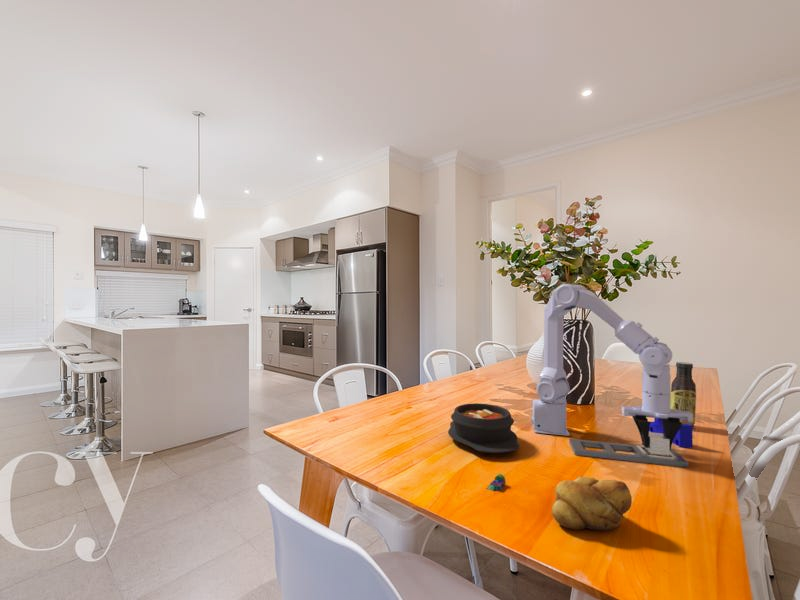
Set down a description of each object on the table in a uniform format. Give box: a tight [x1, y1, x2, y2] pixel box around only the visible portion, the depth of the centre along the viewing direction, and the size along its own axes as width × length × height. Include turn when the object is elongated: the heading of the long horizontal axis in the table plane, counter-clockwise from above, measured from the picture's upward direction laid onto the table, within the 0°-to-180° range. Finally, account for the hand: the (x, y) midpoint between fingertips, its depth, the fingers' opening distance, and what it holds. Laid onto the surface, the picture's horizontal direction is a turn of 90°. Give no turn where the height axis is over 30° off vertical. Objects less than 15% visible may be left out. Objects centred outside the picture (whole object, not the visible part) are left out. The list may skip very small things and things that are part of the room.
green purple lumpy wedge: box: [485, 473, 507, 492], centre depth 74 cm, size 4×3×2 cm
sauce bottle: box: [671, 361, 697, 430], centre depth 110 cm, size 6×6×20 cm
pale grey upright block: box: [644, 431, 670, 457], centre depth 88 cm, size 4×4×5 cm
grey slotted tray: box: [568, 438, 689, 469], centre depth 90 cm, size 24×8×2 cm, turn 74°
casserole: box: [447, 403, 520, 454], centre depth 99 cm, size 25×19×8 cm
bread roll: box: [551, 475, 633, 531], centre depth 63 cm, size 13×10×8 cm
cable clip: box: [648, 418, 694, 449], centre depth 100 cm, size 12×4×6 cm, turn 172°
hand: (656, 447), depth 88 cm, fingers closed on pale grey upright block, 4 cm apart
